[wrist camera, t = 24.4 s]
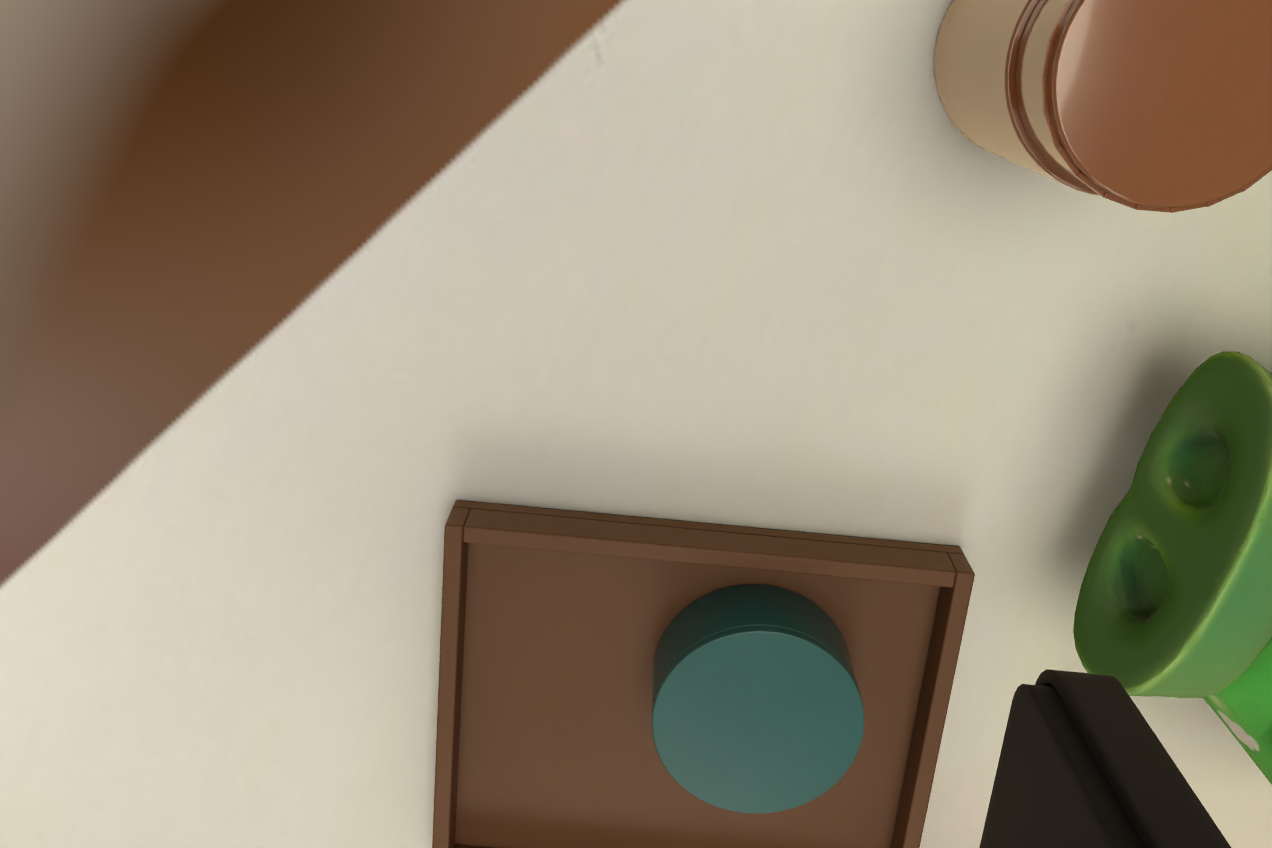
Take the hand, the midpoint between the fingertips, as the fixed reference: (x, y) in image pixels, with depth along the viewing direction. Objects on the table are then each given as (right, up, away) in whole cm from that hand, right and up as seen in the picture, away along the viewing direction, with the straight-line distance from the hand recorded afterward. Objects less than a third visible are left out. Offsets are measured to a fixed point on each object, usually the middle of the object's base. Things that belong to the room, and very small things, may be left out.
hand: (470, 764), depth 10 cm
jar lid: (+5, -6, +31) cm, 32 cm away
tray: (+3, -7, +32) cm, 33 cm away
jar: (+13, +14, +25) cm, 31 cm away
